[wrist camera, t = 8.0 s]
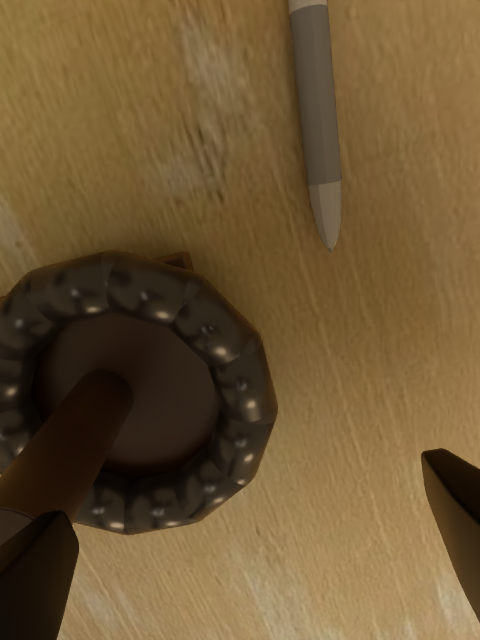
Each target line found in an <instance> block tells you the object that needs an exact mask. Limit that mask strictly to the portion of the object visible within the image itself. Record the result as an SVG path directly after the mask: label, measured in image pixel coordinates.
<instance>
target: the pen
mask: <svg viewBox="0 0 480 640" xmlns="http://www.w3.org/2000/svg"><path fill="white" fill-rule="evenodd" d="M288 10H289V20H290V29H291V39H292V48H293V57H294V67H295V76H296V85H297V95H298V104H299V114H300V123H301V132H302V142H303V151H304V161H305V170H306V179H307V185H308V187H309V194H310V201H311V206H312V210H313V215H314V220H315V223H316V227H317V230H318V233H319V235H320V237H321V240H322V242H323V243H324V245H325V247H328V249H329V252H332V251H333V247H334V246H335V245H336V242H337V239H338V236H339V231H340V225H341V203H342V191H341V179H342V174H341V162H340V150H339V138H338V126H337V114H336V102H335V90H334V77H333V65H332V53H331V41H330V29H329V17H328V6H327V0H288Z"/></svg>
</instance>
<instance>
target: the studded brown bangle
mask: <svg viewBox="0 0 480 640" xmlns="http://www.w3.org/2000/svg"><path fill="white" fill-rule="evenodd" d="M112 313H116V314H120V315H124V316H127V317H131V318H135V319H138V320H142V321H145V322H149V323H153V324H156V325H160V326H163V327H167V328H169V329H170V330H171V331H172V332H173V333H174V334H176V335H177V336H178V337H179V338H180V339H181V340H182V341H183V342H184V343H185V344H186V345H187V346H188V347H189V348H190V349H191V350H193V351H194V352H195V353H196V354H197V355H198V356H199V357H200V358H201V359H202V360H203V361H204V362H205V363H206V364H207V365H208V368H209V371H210V375H211V378H212V381H213V385H214V388H215V392H216V395H217V398H218V402H219V405H220V410H219V413H218V416H217V420H216V423H215V426H214V429H213V433H212V436H211V439H210V442H209V445H208V446H206V447H205V448H204V449H203V450H202V451H200V452H199V453H198V454H197V455H196V456H194V457H193V458H192V459H191V460H190V461H188V462H187V463H186V464H185V465H184V466H182V467H181V468H180V469H179V470H177V471H171V472H166V473H161V474H156V475H151V476H146V477H141V478H136V479H133V478H129V477H125V476H121V475H117V474H113V473H109V472H105V471H101V470H100V471H99V473H98V475H97V477H96V479H95V481H94V483H93V485H92V487H91V489H90V491H89V493H88V495H87V497H86V499H85V501H84V503H83V505H82V507H81V509H80V511H79V513H78V515H77V517H76V519H75V521H74V523H77V524H82V525H86V526H90V527H94V528H98V529H102V530H106V531H110V532H114V533H118V534H122V535H135V534H140V533H146V532H151V531H157V530H162V529H168V528H173V527H179V526H184V525H190V524H194V523H197V522H199V521H201V520H203V519H204V518H205V517H206V516H208V515H209V514H210V513H212V512H213V511H214V510H215V509H217V508H218V507H219V506H221V505H222V504H223V503H224V502H226V501H227V500H228V499H229V498H231V497H232V496H233V495H235V494H236V493H237V492H238V491H240V490H241V489H242V488H244V487H245V486H246V485H247V484H249V483H250V482H251V481H252V480H253V478H254V477H255V475H256V473H257V470H258V468H259V465H260V462H261V459H262V456H263V454H264V451H265V448H266V445H267V442H268V440H269V437H270V434H271V431H272V428H273V426H274V423H275V420H276V417H277V413H278V403H277V399H276V395H275V391H274V386H273V382H272V378H271V374H270V370H269V366H268V362H267V358H266V354H265V350H264V346H263V342H262V339H261V336H260V334H259V333H258V331H257V330H256V329H255V328H254V327H253V326H252V325H251V324H250V323H249V322H248V321H247V320H246V319H245V318H244V317H243V316H242V315H241V314H240V313H239V312H238V311H237V310H236V309H235V308H234V307H233V306H232V305H231V304H230V303H229V302H228V301H227V300H226V299H225V298H224V297H223V296H222V295H221V294H220V293H219V292H218V291H217V290H216V289H215V288H214V287H213V286H212V285H211V284H210V283H209V282H208V281H207V280H206V279H205V278H204V277H203V276H201V275H200V274H198V273H196V272H193V271H190V270H187V269H183V268H180V267H176V266H173V265H169V264H166V263H162V262H159V261H155V260H152V259H148V258H145V257H141V256H138V255H134V254H131V253H127V252H124V251H119V250H109V251H104V252H100V253H96V254H92V255H88V256H84V257H80V258H76V259H72V260H68V261H64V262H60V263H56V264H52V265H48V266H44V267H40V268H37V269H34V270H32V271H30V272H28V273H27V274H26V275H25V276H24V277H23V278H22V279H21V280H20V281H19V282H18V283H17V284H16V285H15V287H14V288H13V289H12V290H11V291H10V292H9V293H8V294H7V295H6V297H5V298H4V299H3V300H2V301H1V302H0V475H2V474H3V473H4V471H5V470H6V469H7V468H8V467H9V465H10V464H11V463H12V462H13V460H14V459H15V458H16V457H17V456H18V454H19V453H20V452H21V451H22V449H23V448H24V447H25V446H26V445H27V443H28V442H29V441H30V440H31V438H32V437H33V436H34V435H35V434H36V432H37V431H38V430H39V429H40V428H41V426H42V425H43V422H42V419H41V417H40V415H39V412H38V410H37V408H36V405H35V403H34V401H33V399H32V396H31V391H32V385H33V378H34V372H35V366H36V359H37V354H38V353H39V352H40V351H41V350H42V349H43V348H44V347H45V346H46V345H47V344H48V343H49V342H50V341H51V340H52V339H53V338H54V337H55V336H56V334H57V333H58V332H59V331H60V330H61V329H62V328H63V327H64V326H65V325H66V324H70V323H74V322H78V321H83V320H87V319H91V318H95V317H100V316H104V315H108V314H112Z"/></svg>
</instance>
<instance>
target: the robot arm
mask: <svg viewBox="0 0 480 640" xmlns="http://www.w3.org/2000/svg"><path fill="white" fill-rule="evenodd" d="M421 463H422V471H423V478H424V486H425V491H426V495H427V499H428V502H429V504H430V507H431V509H432V512H433V515H434V517H435V520H436V523H437V525H438V528H439V531H440V533H441V536H442V539H443V541H444V544H445V546H446V549H447V552H448V554H449V557H450V560H451V562H452V565H453V567H454V570H455V572H456V575H457V577H458V580H459V582H460V584H461V586H462V588H463V590H464V592H465V595H466V597H467V599H468V601H469V602H470V604H471V606H472V608H473V610H474V612H475V614H476V616H477V618H478V620H479V622H480V469H478V468H477V467H475V466H473V465H472V464H470V463H468V462H467V461H465V460H463V459H461V458H460V457H458V456H456V455H455V454H453V453H451V452H450V451H448V450H446V449H443V448H440V449H434V450H428V451H423V452H422V454H421ZM78 554H79V542H78V539H77V536H76V534H75V532H74V529H73V527H72V525H71V523H70V520H69V518H68V516H67V514H66V513H65V512H64V511H62V510H57V511H51V512H45V513H43V514H41V515H40V516H38V517H37V518H36V519H35V520H33V521H32V522H31V523H29V524H28V525H27V526H25V527H24V528H23V529H22V530H20V531H19V532H18V533H16V534H15V535H14V536H13V537H11V538H10V539H9V540H7V541H6V542H5V543H4V544H2V545H1V546H0V640H57V636H58V633H59V630H60V626H61V623H62V619H63V615H64V611H65V607H66V603H67V599H68V595H69V591H70V587H71V583H72V579H73V574H74V570H75V566H76V562H77V558H78Z"/></svg>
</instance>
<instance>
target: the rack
mask: <svg viewBox="0 0 480 640" xmlns="http://www.w3.org/2000/svg"><path fill="white" fill-rule="evenodd" d="M152 260H155V261H159V262H162V263H166V264H169V265H173V266H176V267H180V268H183V269H187V270H190V271H193V268H192V264H191V261H190V257H189V254H188V252H187V251H184V252H180V253H176V254H172V255H168V256H164V257H160V258H156V259H152ZM193 272H194V271H193ZM5 297H6V296H3V297H0V302H1V301H2V300H3V299H4V298H5ZM31 396H32V399H33V401H34V403H35V405H36V408H37V410H38V412H39V415H40V417H41V419H42V422H43V425H42V426H41V428H40V429H39V430H38V431H37V432H36V434H35V435H34V436H33V437H32V438H31V440H30V441H29V442H28V443H27V445H26V446H25V447H24V448H23V449H22V451H21V452H20V453H19V454H18V456H17V457H16V458H15V459H14V460H13V462H12V463H11V464H10V465H9V467H8V468H7V469H6V470H5V471H4V473H3V474H2V475H1V476H0V546H1V545H2V544H4V543H5V542H6V541H7V540H9V539H10V538H11V537H13V536H14V535H15V534H16V533H18V532H19V531H20V530H22V529H23V528H24V527H25V526H27V525H28V524H29V523H31V522H32V521H33V520H35V519H36V518H37V517H38V516H40V515H41V514H43V513H45V512H51V511H57V510H62V511H64V512H65V513H66V514H67V516H68V518H69V520H70V523H71V525H73V523H74V521H75V519H76V517H77V515H78V513H79V511H80V509H81V507H82V505H83V503H84V501H85V499H86V497H87V495H88V493H89V491H90V489H91V487H92V485H93V483H94V481H95V479H96V477H97V475H98V473H99V471H100V470H101V471H105V472H109V473H113V474H117V475H121V476H125V477H129V478H133V479H136V478H141V477H146V476H151V475H156V474H161V473H166V472H171V471H177V470H179V469H180V468H181V467H182V466H184V465H185V464H186V463H187V462H188V461H190V460H191V459H192V458H193V457H194V456H196V455H197V454H198V453H199V452H200V451H202V450H203V449H204V448H205V447H206V446H208V445H209V442H210V439H211V436H212V433H213V429H214V426H215V423H216V420H217V416H218V413H219V410H220V405H219V402H218V398H217V395H216V392H215V388H214V385H213V381H212V378H211V375H210V371H209V368H208V365H207V364H206V363H205V362H204V361H203V360H202V359H201V358H200V357H199V356H198V355H197V354H196V353H195V352H194V351H193V350H191V349H190V348H189V347H188V346H187V345H186V344H185V343H184V342H183V341H182V340H181V339H180V338H179V337H178V336H177V335H176V334H174V333H173V332H172V331H171V330H170V329H169V328H167V327H163V326H160V325H156V324H153V323H149V322H145V321H142V320H138V319H135V318H131V317H127V316H124V315H120V314H116V313H112V314H108V315H104V316H100V317H95V318H91V319H87V320H83V321H78V322H74V323H70V324H66V325H65V326H64V327H63V328H62V329H61V330H60V331H59V332H58V333H57V334H56V336H55V337H54V338H53V339H52V340H51V341H50V342H49V343H48V344H47V345H46V346H45V347H44V348H43V349H42V350H41V351H40V352H39V353H38V354H37V359H36V366H35V372H34V378H33V385H32V391H31Z"/></svg>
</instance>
